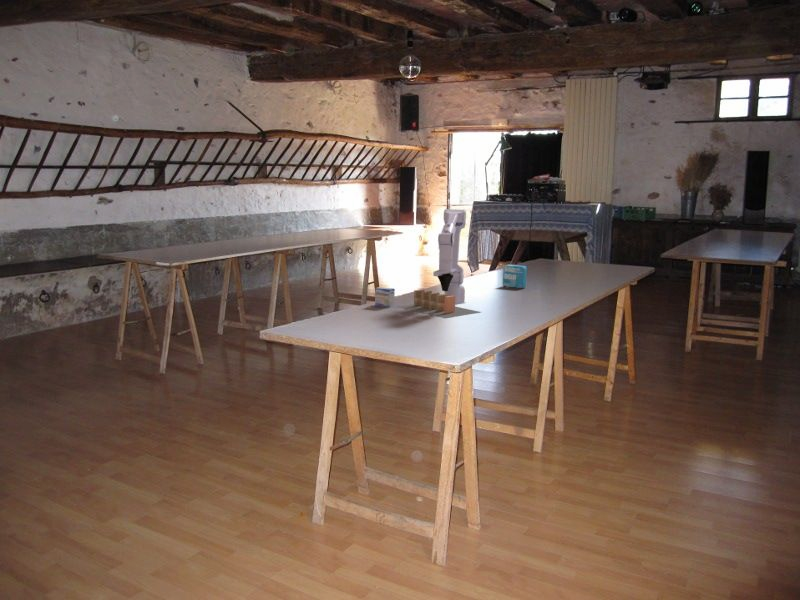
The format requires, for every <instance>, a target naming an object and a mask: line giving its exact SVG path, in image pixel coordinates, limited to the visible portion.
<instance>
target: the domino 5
mask: <svg viewBox="0 0 800 600" xmlns="http://www.w3.org/2000/svg"><path fill="white" fill-rule="evenodd" d="M455 307H456V305H455V296H446V297H445V303H444V313H453V312H455Z"/></svg>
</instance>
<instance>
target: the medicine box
mask: <svg viewBox="0 0 800 600" xmlns="http://www.w3.org/2000/svg"><path fill="white" fill-rule="evenodd" d="M395 293H396V291H395V288H392V287H383V286H382V287H381V286H378V287H375V294H374V295H375V296H374V300H375V301H374V306H375V307H384V308H393V307H395Z"/></svg>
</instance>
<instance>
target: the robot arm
mask: <svg viewBox="0 0 800 600" xmlns="http://www.w3.org/2000/svg"><path fill="white" fill-rule="evenodd" d="M466 219H467V211H466V209H463V208H462V209H452V208H451V209H447V208H445V209H444V211H443V222H444V225H443V227H442V230H441V231H440V233H438V235H437V237H438V238H437V243H438V250H439V252H438V256H439V257H438V261H439V262H438V270H435V271H433V277H437V278H438V280H439V283H440V286H441V290H442V292H444V293H443V294H447V296H455V306H456V305H462V304H463V305H464V304H466V302H465V297H466V295H465V294H466V293H465V292H466V290H465V287H464V285H463V283H464V278H465V277H464V275H465V274H464V267H462V266H461V265H460V264H459V253H460V240H461V239H460V236H461V231H462V230H463V229H464V228H466V221H467V220H466Z"/></svg>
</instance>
